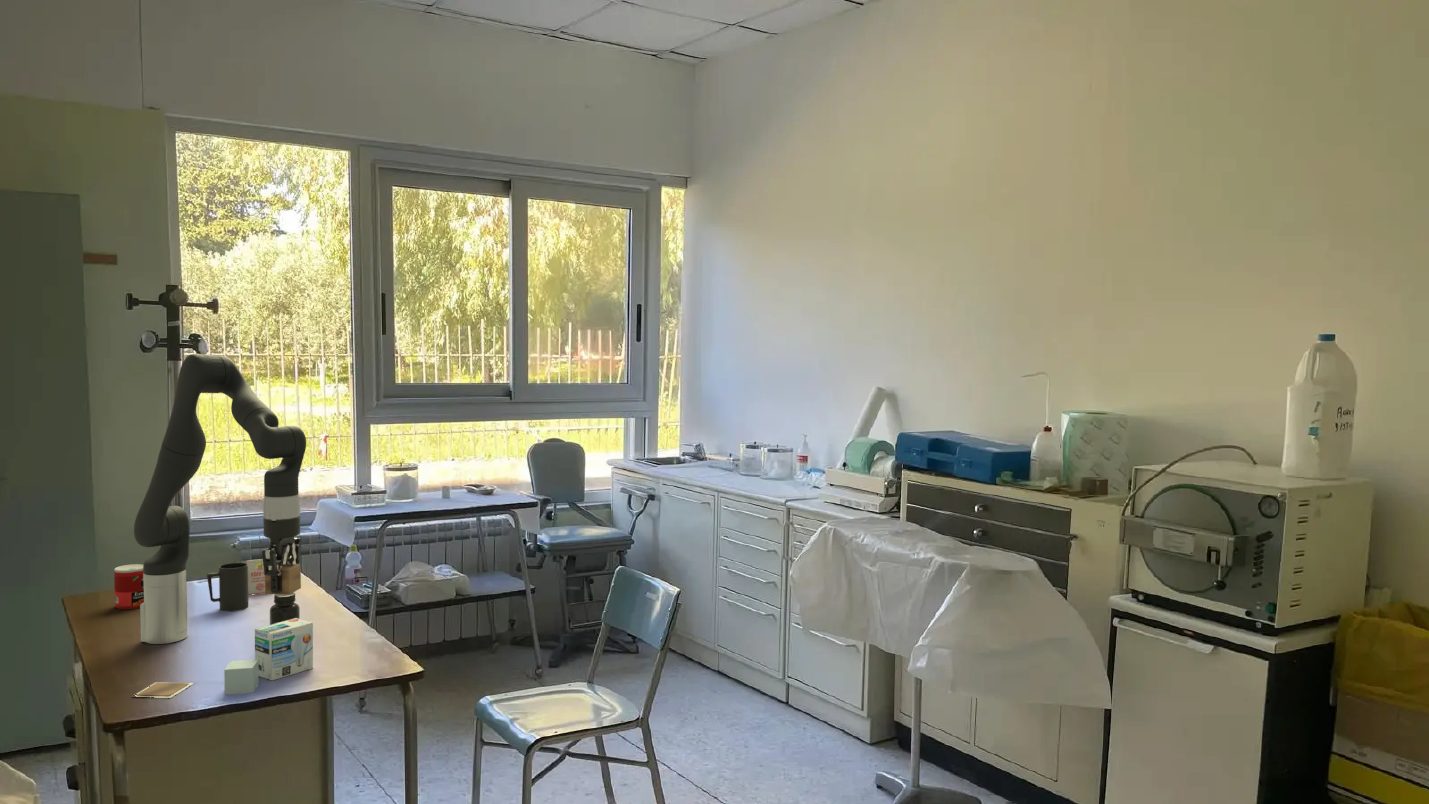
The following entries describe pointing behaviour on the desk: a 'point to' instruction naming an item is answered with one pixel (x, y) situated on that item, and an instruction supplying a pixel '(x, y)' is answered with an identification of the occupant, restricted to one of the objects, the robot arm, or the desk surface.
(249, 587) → the beige rectangular box
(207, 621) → the desk surface
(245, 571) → the mug
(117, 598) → the canned food
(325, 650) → the desk surface
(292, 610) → the supplement bottle
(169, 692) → the swatch
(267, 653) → the light bulb box
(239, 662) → the pale green cube
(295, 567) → the walnut block
